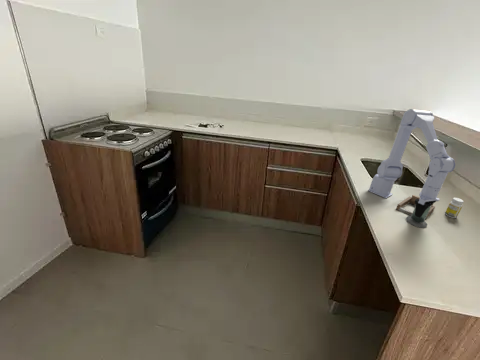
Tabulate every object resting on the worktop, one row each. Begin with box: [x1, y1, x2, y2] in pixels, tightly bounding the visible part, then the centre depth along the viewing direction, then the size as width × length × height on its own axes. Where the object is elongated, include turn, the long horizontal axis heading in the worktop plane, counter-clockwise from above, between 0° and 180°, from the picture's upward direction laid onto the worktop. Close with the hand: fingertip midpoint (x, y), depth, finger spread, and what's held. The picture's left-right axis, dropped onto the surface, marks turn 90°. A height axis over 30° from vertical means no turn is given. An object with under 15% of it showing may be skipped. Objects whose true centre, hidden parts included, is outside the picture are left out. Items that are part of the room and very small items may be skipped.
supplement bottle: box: [444, 197, 464, 219], centre depth 126 cm, size 5×5×8 cm
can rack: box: [395, 194, 436, 217], centre depth 128 cm, size 11×15×4 cm
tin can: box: [410, 202, 432, 223], centre depth 116 cm, size 5×5×8 cm
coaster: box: [405, 215, 428, 229], centre depth 118 cm, size 8×8×1 cm
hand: (419, 214), depth 116 cm, fingers closed on tin can, 5 cm apart
